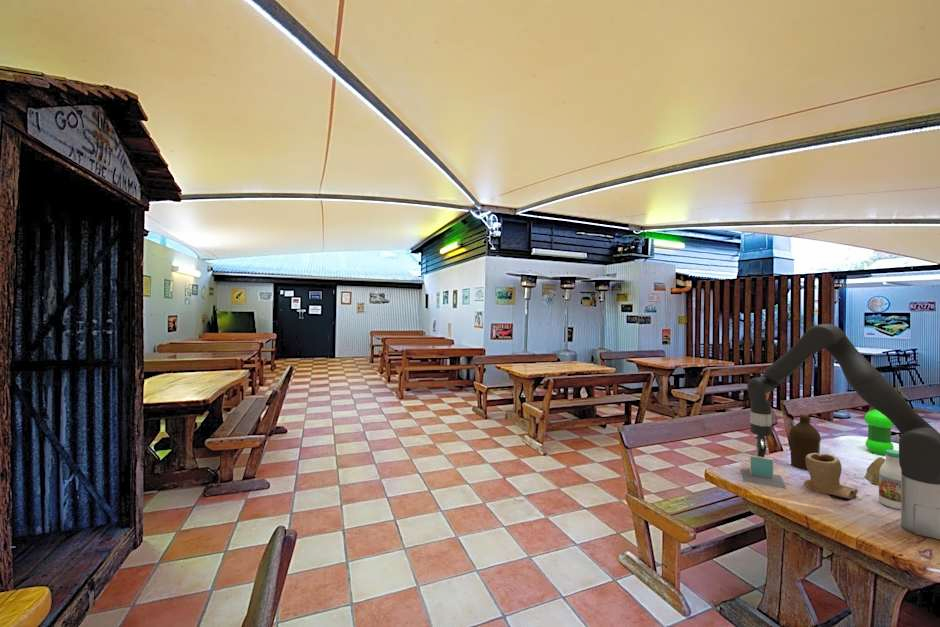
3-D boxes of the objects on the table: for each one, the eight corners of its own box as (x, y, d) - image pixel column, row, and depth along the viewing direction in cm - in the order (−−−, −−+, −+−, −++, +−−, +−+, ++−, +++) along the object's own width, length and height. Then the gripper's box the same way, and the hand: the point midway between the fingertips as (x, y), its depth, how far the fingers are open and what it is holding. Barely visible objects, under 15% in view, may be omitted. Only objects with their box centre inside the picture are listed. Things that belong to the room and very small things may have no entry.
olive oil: (794, 472, 170) (794, 416, 169) (785, 463, 180) (785, 410, 179) (825, 475, 166) (825, 418, 165) (814, 466, 175) (814, 412, 175)
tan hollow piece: (800, 491, 153) (800, 453, 152) (806, 482, 160) (806, 446, 160) (853, 506, 141) (854, 465, 141) (858, 495, 148) (858, 457, 148)
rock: (887, 483, 153) (901, 476, 156) (869, 462, 158) (882, 455, 161) (860, 489, 162) (874, 482, 165) (844, 469, 166) (857, 463, 169)
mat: (786, 492, 152) (786, 489, 152) (743, 483, 159) (743, 481, 159) (780, 478, 164) (780, 475, 164) (740, 471, 171) (740, 468, 171)
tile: (773, 478, 161) (773, 459, 161) (750, 474, 165) (750, 456, 165) (772, 477, 162) (772, 458, 162) (749, 472, 167) (749, 454, 166)
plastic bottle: (858, 449, 195) (858, 400, 195) (877, 448, 196) (878, 400, 196) (880, 457, 185) (881, 406, 185) (901, 456, 186) (901, 405, 186)
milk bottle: (877, 497, 147) (877, 446, 146) (907, 504, 142) (907, 450, 141) (881, 506, 141) (881, 452, 140) (912, 513, 136) (913, 457, 135)
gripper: (748, 417, 174) (748, 455, 174) (751, 425, 163) (751, 465, 163) (769, 420, 170) (769, 458, 170) (774, 428, 159) (774, 469, 159)
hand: (760, 462), depth 167 cm, fingers closed
